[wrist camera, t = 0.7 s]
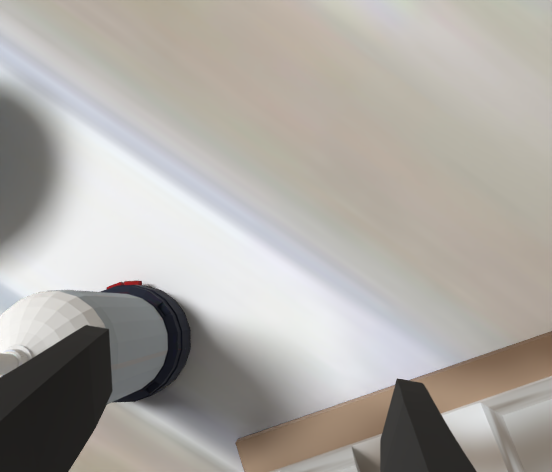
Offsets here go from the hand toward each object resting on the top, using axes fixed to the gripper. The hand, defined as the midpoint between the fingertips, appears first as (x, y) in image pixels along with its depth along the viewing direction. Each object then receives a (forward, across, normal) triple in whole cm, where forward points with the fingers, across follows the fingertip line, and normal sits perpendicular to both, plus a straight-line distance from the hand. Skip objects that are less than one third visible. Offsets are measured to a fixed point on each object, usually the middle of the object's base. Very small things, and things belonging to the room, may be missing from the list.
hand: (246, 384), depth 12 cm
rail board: (+16, -11, +18) cm, 27 cm away
